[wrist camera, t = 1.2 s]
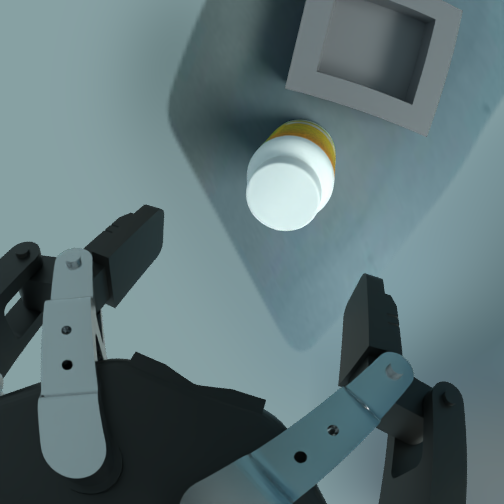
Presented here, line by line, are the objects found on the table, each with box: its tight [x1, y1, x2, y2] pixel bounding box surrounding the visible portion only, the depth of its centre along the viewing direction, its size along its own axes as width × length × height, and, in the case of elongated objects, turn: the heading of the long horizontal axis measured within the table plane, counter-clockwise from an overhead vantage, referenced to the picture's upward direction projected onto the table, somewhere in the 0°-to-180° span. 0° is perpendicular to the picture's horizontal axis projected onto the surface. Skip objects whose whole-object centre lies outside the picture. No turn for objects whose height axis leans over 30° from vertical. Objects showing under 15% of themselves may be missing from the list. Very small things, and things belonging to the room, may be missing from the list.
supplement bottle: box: [246, 120, 335, 231], centre depth 20 cm, size 5×5×10 cm
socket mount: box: [285, 0, 462, 137], centre depth 17 cm, size 10×10×4 cm
